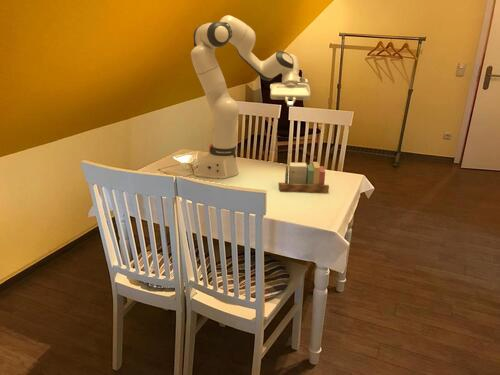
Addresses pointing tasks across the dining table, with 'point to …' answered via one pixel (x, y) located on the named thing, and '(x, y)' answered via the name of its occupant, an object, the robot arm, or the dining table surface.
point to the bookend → (285, 176)
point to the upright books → (315, 174)
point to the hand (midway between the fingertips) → (290, 105)
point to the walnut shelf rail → (304, 188)
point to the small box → (297, 173)
